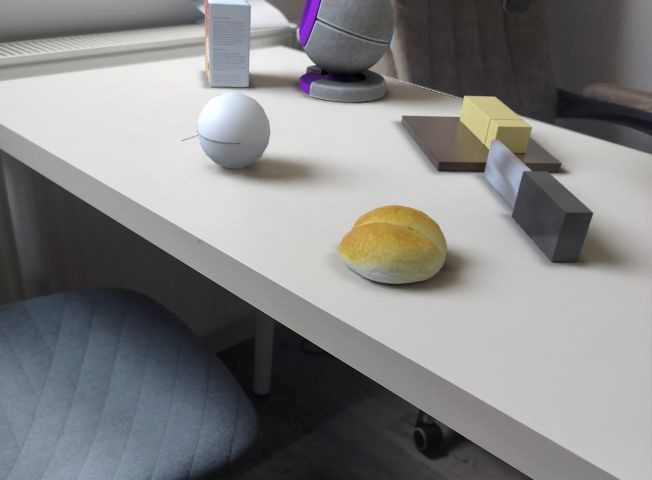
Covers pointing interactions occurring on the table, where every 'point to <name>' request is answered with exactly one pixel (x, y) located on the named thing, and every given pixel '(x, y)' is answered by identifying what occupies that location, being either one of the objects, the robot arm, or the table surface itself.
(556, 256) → the knife
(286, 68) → the table surface
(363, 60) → the webcam
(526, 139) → the butter pat
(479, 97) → the butter
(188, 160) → the table surface
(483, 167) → the board
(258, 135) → the seamed sphere
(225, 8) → the small box
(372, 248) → the bread roll
